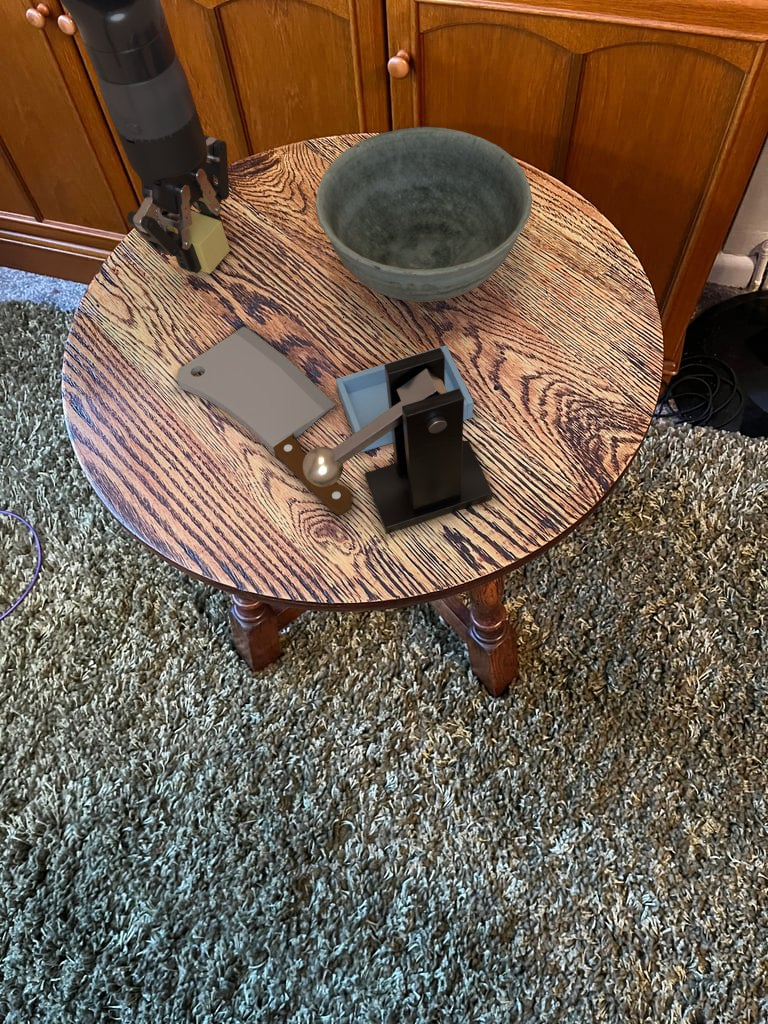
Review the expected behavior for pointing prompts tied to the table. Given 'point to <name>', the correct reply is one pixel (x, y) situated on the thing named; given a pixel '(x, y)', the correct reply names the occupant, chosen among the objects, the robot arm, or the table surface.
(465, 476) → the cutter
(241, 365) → the kitchen cleaver
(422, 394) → the cutter lever
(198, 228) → the butter pat
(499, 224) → the bowl
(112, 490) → the table surface
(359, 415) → the butter dish
